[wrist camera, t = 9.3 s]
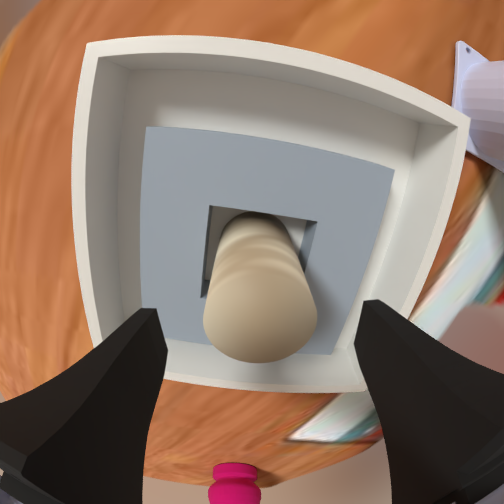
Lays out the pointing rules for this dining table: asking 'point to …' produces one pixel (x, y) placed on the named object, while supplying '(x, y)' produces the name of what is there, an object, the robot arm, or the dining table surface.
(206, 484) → the dining table surface
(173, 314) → the bore plate
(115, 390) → the robot arm
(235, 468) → the pepper mill
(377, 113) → the tray
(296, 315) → the peg
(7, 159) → the dining table surface
